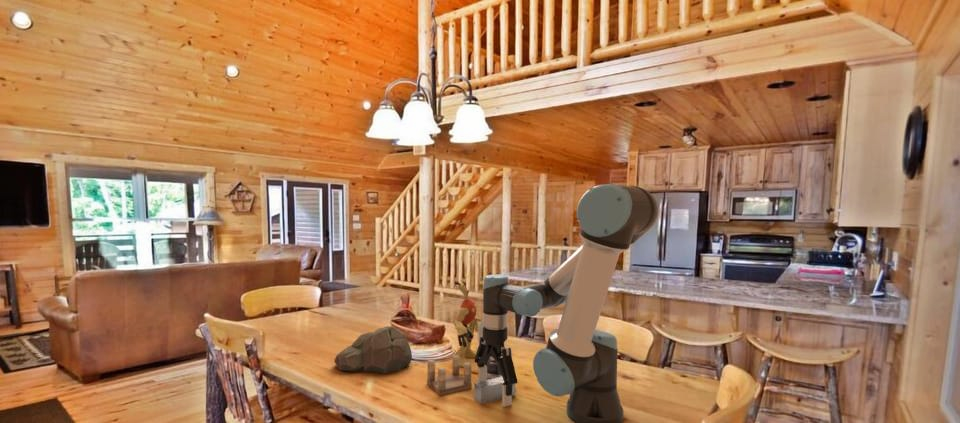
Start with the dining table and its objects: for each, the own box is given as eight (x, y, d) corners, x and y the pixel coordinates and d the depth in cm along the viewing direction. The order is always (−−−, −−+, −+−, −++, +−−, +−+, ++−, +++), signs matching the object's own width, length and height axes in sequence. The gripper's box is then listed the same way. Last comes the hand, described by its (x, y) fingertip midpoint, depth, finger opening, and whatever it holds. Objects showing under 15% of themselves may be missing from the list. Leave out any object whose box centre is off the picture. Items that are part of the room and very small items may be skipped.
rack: (472, 388, 133) (472, 364, 133) (439, 396, 127) (439, 371, 127) (457, 376, 142) (457, 354, 141) (426, 383, 136) (426, 360, 136)
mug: (496, 353, 165) (496, 328, 165) (474, 351, 168) (474, 326, 168) (503, 343, 177) (503, 320, 177) (483, 341, 180) (483, 318, 180)
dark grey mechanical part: (482, 368, 143) (482, 356, 143) (496, 365, 146) (496, 353, 146) (503, 382, 132) (503, 369, 132) (518, 378, 135) (518, 365, 135)
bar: (515, 396, 128) (515, 379, 128) (480, 404, 122) (481, 387, 122) (508, 391, 131) (508, 375, 131) (474, 399, 125) (474, 382, 125)
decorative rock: (326, 372, 145) (328, 328, 146) (356, 355, 166) (358, 317, 167) (399, 378, 140) (400, 332, 141) (420, 360, 161) (421, 321, 162)
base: (507, 378, 141) (507, 372, 141) (491, 382, 137) (491, 376, 137) (496, 371, 146) (496, 366, 146) (481, 375, 143) (481, 369, 143)
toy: (470, 376, 142) (471, 288, 142) (446, 374, 144) (446, 286, 144) (483, 353, 165) (484, 277, 165) (462, 351, 167) (463, 276, 167)
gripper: (530, 335, 118) (529, 410, 118) (484, 315, 139) (483, 378, 139) (508, 339, 114) (507, 417, 114) (464, 318, 135) (463, 383, 136)
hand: (494, 396), depth 127 cm, fingers open, 13 cm apart
